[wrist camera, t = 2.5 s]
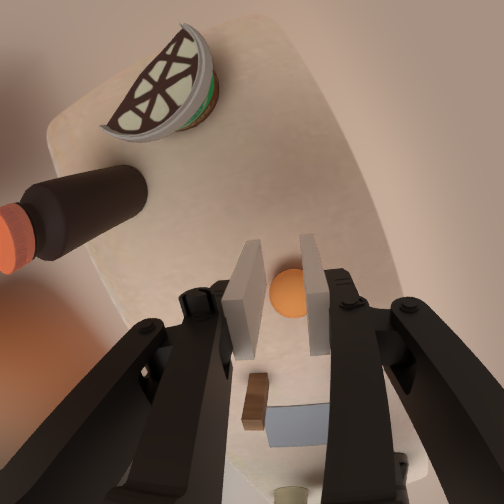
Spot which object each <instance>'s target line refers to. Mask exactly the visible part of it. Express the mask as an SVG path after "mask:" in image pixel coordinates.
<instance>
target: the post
mask: <svg viewBox="0 0 504 504" xmlns="http://www.w3.org/2000/svg"><path fill="white" fill-rule="evenodd" d="M268 390H269V381H268V375H267V373H254V374H250V376H249V381H248V386H247V392H246V397H245V403H244V408H243V413H242V419H241V420H242V423H243V427H244V430H264V427H265V418H266V409H267V400H268Z"/></svg>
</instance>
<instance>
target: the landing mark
mask: <svg viewBox="0 0 504 504" xmlns="http://www.w3.org/2000/svg"><path fill="white" fill-rule="evenodd" d="M329 406H330V403H322V404H311V405H297V406H278V407H267V409H266V418H265V429H266V433H267V438H268V442H269V446H270V447H298V446H313V445H325V444H327V439H328V424H329Z"/></svg>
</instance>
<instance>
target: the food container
mask: <svg viewBox="0 0 504 504" xmlns="http://www.w3.org/2000/svg"><path fill="white" fill-rule="evenodd" d="M179 24H180V25H181V27H182V30H181V31H180V32H179V33H177V34H176V36H175V37H174V38H173V39H172V41H171V42H170V43H169V44H168V45H167V46H166V47H165V48H164V49H163V51H162V52H161V53H160V54H159V55H158V56H157V57H156V58H155V59H154V60H153V61H152V62H151V63H150V64H149V65H148V66H147V67H146V68H145V70H144V71H143V72H142V73H141V74H140V75H139V77H138V78H137V80H136V81H135V83H134V84H133V86H132V87H131V89H130V91H129V92H128V94H127V95H126V97H125V98H124V100H123V101H122V103H121V104H120V106H119V107H118V109H117V110H116V112H115V113H114V115H113V116H112V118H111V119H110V121H109V122H108V124H107V125H101V126H99V127H100V128H101V129H102V130H103V131H105V132H106V133H108V134H110V135H112V136H114V137H116V138H119V139H121V140H125V141H128V142H136V143H143V142H151V141H155V140H159V139H161V138H163V137H166V136H168V135H170V134H171V133H173V132H176V131H184V130H187V129H190V128H193V127H196V126H197V125H198V124H200V123H201V122H203V121H204V120H205V119H206V118H207V117H208V116H209V115H210V114H211V112H212V111H213V109H214V107H215V105H216V103H217V100H218V95H219V84H218V79H217V76H216V74H215V72H214V70H213V62H212V54H211V51H210V49H209V46H208V44H207V42H206V40H205V39H204V37H203V36H202V35H201V34H200V33H199V32H198V31H197V30H196V29H194V28H193V27H192V26H190V25H188V24H185V23H184V24H183V25H182V24H181V23H179Z"/></svg>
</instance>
